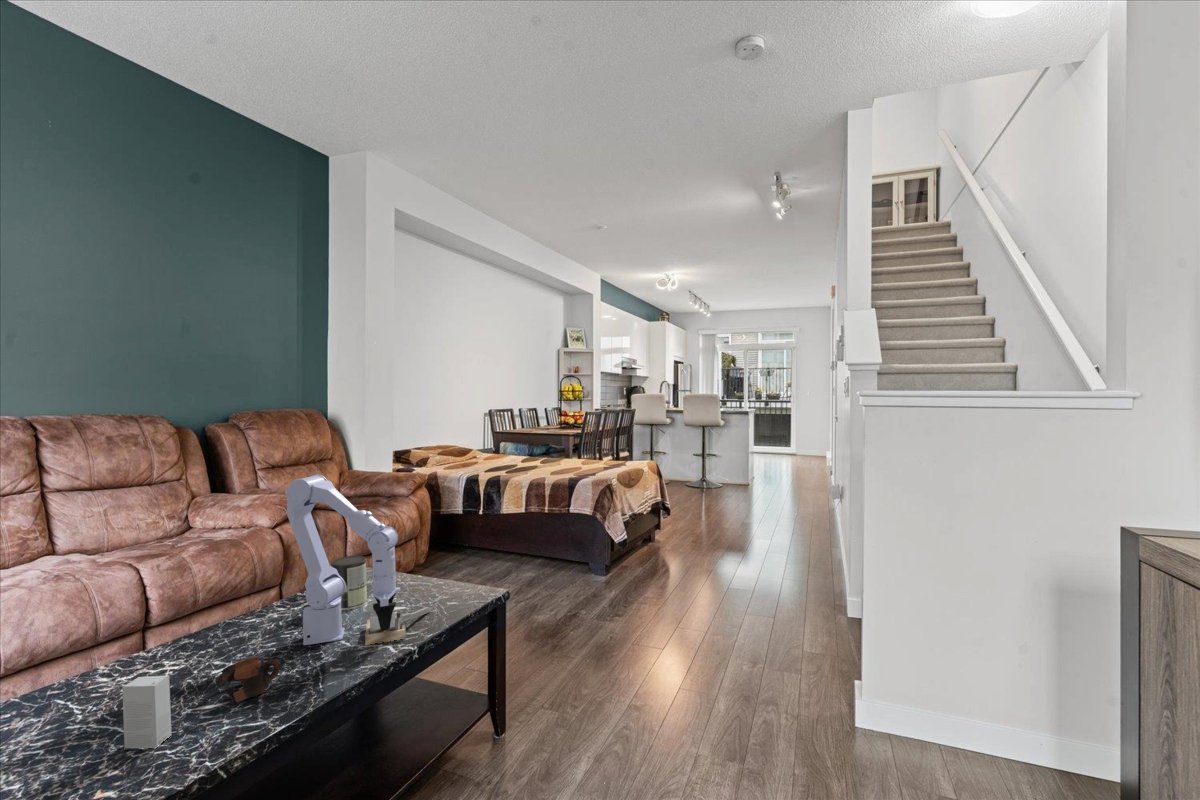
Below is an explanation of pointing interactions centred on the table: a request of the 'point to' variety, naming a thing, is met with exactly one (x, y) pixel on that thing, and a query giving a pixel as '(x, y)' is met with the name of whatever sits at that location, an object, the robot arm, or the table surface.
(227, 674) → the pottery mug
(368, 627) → the tan wooden flat block
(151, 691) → the skincare box
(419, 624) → the table surface
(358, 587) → the coffee can
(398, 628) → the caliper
